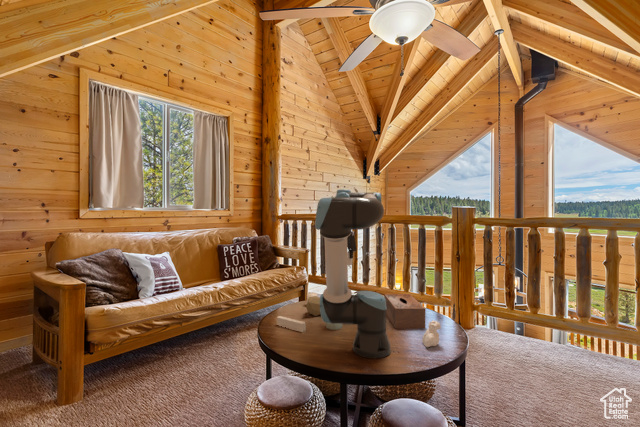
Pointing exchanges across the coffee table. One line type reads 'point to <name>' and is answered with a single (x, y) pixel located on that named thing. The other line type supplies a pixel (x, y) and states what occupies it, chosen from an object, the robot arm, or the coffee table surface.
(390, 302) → the tissue box cover
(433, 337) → the bust
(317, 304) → the low-poly potato
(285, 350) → the coffee table surface
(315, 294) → the cream capsule
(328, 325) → the pale green egg
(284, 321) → the rail
